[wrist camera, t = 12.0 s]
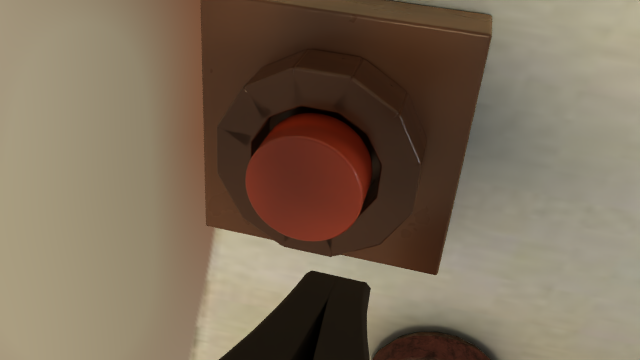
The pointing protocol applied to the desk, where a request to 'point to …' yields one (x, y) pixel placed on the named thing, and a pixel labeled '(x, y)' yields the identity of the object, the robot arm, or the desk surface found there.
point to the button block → (346, 110)
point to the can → (430, 348)
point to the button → (309, 177)
